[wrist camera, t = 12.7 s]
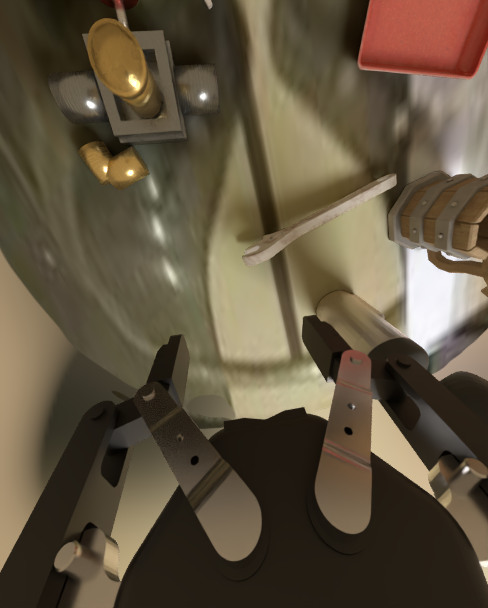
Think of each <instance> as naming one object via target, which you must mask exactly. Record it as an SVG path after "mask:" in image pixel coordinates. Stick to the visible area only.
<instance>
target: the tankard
mask: <svg viewBox="0 0 488 608" xmlns="http://www.w3.org/2000/svg"><path fill="white" fill-rule="evenodd" d="M388 225H389V240H391V241H393V242H395V243H398V244H400V245H402V246H404V247H406V248H409V249H414V248H417V247H419V246H421V248H422V249H427V253H428V260H429V261H430V262H431V263H433V264H434V265H435V266H436V267H437V268H439V269H441V270H444V271H447V272H449V273H467V274H472V275H476V276H480V277H483V278H484V280H485V282H486V284H487V287H485V288H484V289H482V290H481V292H482V293H483V294H485V295H486V296H487V297H488V174H487V175H485V176H483V177H481V178H476V177H475V176H473V175H472V174H459V175H455V176H453V177H450V176H449V175H447V174H446V173H444V172H443V171H436V172H433V173H431V174H429V175H427V176H425V177H423V178H421V179H419V180H417V181H414V182H412V183H410V184H408V185H406V187H405V188H404V190H403V191H402V193H401V195H400V196H399V198H398V199H397V201H396V203H395V204H394V206H393V207H392V209H391V211H390V212H389V214H388ZM441 251H443V252H445V253H446V254H447V255H448V256H450V255H451V256H454V257H457V258H461V259H468V258H470V257H474V258H478V259H482V260H483V262H482V263H481V262H475V261H452V260H449V259H446V258H445V257H444V256H442V254H441Z"/></svg>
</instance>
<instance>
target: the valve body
mask: <svg viewBox="0 0 488 608" xmlns="http://www.w3.org/2000/svg"><path fill="white" fill-rule="evenodd" d="M100 1H101V2H102V3H104V4H106V5H107V6H109V7H112V8H115V11H116V15H117V19H118V21H119V22H120V23H122V24H123V25H125V26H126V27H127V28H128V29H129V30H130V28H129V24H128V20H127V16H126V12H125V10H127V9H131V8H133V7H134V6H135V5H136V4H137V3H138V0H100ZM132 33H133V35H134V36H135V38H136V39H137V41H138V43H139V45H140V47H141V49H142V51H143V53H144V55H145V58H146V61H147V66H148V68H149V70H150V72H151V73H152V75H153V77H154V79H155V81H156V83H157V85H158V87H159V89H160V93H161V98H162V103H161V108H160V111H159V112H158V114H157V115H156V116H154V117H152V118H144V117H141V116H139V115H138V114H136V113H135V112H134V111H133V110H132V109H131V108H130V107H129V106H128V105H127V104H126V103H125V102H124V101H123V100H122V99H121V98H120V97H118V96H116V95H115V94H113V93H112V92H111V91H110V90H109V89H108V88H107V87H106V86H105V85H104V84H103V83H102V82H101V81H100V79H99V78H98V77H97V75H96V73H95V72H94V70H93V71H75V72H58V73H49V74H48V84H49V87H50V90H51V93H52V95H53V97H54V99H55V101H56V103H57V105H58V107H59V108H60V110H61V111H62V113H63V114H64V115H65V117H66V118H67V119H68V120H69V121H70V122H72V123H73V124H80V123H94V122H107V121H110V124H111V127H112V130H113V133H114V136H116V137H118V138H119V140H120V143H122V144H123V145H125V146H130V145H142V144H155V143H167V142H179V141H188V137H187V132H186V126H185V120H184V116H189V115H202V114H216V113H220V108H219V94H218V84H217V75H216V68H215V64H199V65H181V66H175V64H174V58H173V53H172V49H171V45H170V42H169V41H166V39H165V36H164V33H163V30H159V31H136V32H132ZM82 36H83V39H84V42H85V45H86V48H87V39H88V34H82ZM87 51H88V50H87Z"/></svg>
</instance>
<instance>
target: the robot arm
mask: <svg viewBox="0 0 488 608" xmlns="http://www.w3.org/2000/svg"><path fill="white" fill-rule="evenodd" d="M316 314H317V316H316V315H311V316H304V317H303V327H302V339H303V343H304V345H305V346H306V348H307V350H308V351H309V353H310V355H311V356H312V358H313V360H314V361H315V363H316V365H317V366H318V368H319V370H320V372H321V373H322V375H323V377H324V378H325V380H326V382H333V381H334V382H335V384H336V386H335V391H334V396H333V400H332V405H331V410H330V415H329V419H328V421H327V420H326V419H324V418H321V417H319V416H316V415H312V414H307V413H306V411H305V409H304V407H302V408H296V409H291V410H285V411H283V412H281V413H279V414H276V415H274V416H272V417H270V418H268V419H251V418H241V419H235V420H230V421H224V429H222V430H220V431H219V432H217V433H216V434H214V435H213V436H212V437H211V438H210V439H209V440H208V439H207V438H206V437H205V435H204V434H203V433H202V432H201V430H200V429H199V428H198V427H197V425H196V424H195V423H194V421H193V420H192V419H191V418H190V416H189V415H188V414H187V413H186V411H185V410H184V409H183V408H182V407H183V402H184V395H185V388H186V381H187V375H188V368H189V360H190V358H189V351H188V348H187V345H186V341H185V338H184V335H183V334H180V335H173V336H170V339H169V342H168V344H166V345H163V346H162V347H161V348H160V349H159V350H158V352H157V355H156V357H155V358H156V359H155V360H154V364H153V366H152V369H151V371H150V374H149V377H148V380H147V383H146V384H145V385H143V386H142V387H140V388H139V389H138V390H137V392H136V393H135V395H134V397H133V398H131V399H129V400H127V401H124V402H122V403H120V404H117V405H115V404H114V403H113V402H112V401H103V402H100V403H98V404H96V405H94V406H93V407H91V408H90V409H89V410H88V411H87V412H86V413H85V414H84V415H83V417H82V419H81V421H80V423H79V424H78V426H77V428H76V430H75V432H74V434H73V436H72V438H71V440H70V442H69V443H68V445H67V447H66V449H65V451H64V453H63V455H62V457H61V458H60V460H59V462H58V464H57V466H56V468H55V470H54V472H53V474H52V476H51V477H50V480H49V481H48V483H47V485H46V487H45V489H44V491H43V493H42V495H41V496H40V498H39V500H38V502H37V504H36V506H35V508H34V510H33V511H32V513H31V515H30V517H29V519H28V521H27V523H26V525H25V527H24V529H23V530H22V533H21V534H20V536H19V538H18V540H17V542H16V544H15V545H14V547H13V549H12V552H11V553H10V555H9V557H8V559H7V561H6V563H5V564H4V566H3V568H2V570H1V572H0V608H488V584H487V581H486V579H485V576H484V573H483V570H482V567H487V566H488V381H487V380H485V379H483V378H481V377H479V376H477V375H474V374H472V373H468V372H463V371H460V372H455V373H453V374H451V375H449V376H447V377H446V378H444V379H443V380H441V381H438V380H437V379H436V378H435V377H434V376H433V375H432V374H430V373H429V372H428V371H427V368H428V364H429V357H428V354H427V353H426V351H425V350H424V349H423V348H422V347H421V346H419V345H418V344H417V343H415V342H414V341H412V340H411V339H410V338H408V337H407V336H406V335H404V334H403V333H402V332H400V331H399V330H398V329H396V328H395V327H394V326H392V325H391V324H390V323H388V322H387V321H385V320H384V315H383V314H382V313H380V312H379V311H378V310H376V309H375V308H373V307H372V306H371V305H369V304H368V303H366V302H365V301H364V300H362V299H361V298H360V297H358V296H357V295H355V294H349V293H348V292H346V291H334V292H331V293H329V294H328V295H326V296H325V297H324V298H323V299H322V300H321V301H320V302H319V304H318V306H317V310H316ZM372 399H377V400H379V402H380V403H381V405H382V406H383V407H384V409H385V410H386V412H387V413H388V414H389V416H390V417H391V419H392V420H393V421H394V423H395V424H396V426H397V427H398V428H399V430H400V431H401V433H402V434H403V435H404V437H405V438H406V439H407V441H408V442H409V444H410V445H411V446H412V448H413V449H414V451H415V452H416V453H417V455H418V456H419V458H420V459H421V460H422V462H423V463H424V465H425V466H426V467H427V469H428V470H429V474H428V480H429V484H430V486H431V488H432V490H433V492H434V496H435V498H436V499H435V498H434V497H433V496H432V495H430V494H429V493H428V492H427V491H425V490H424V489H422V488H421V487H420V486H418V485H417V484H415V483H414V482H413V481H411V480H410V479H408V478H407V477H406V476H404V475H403V474H402V473H400V472H399V471H397V470H396V469H395V468H393V467H392V466H390V465H389V464H388V463H386V462H385V461H383V460H382V459H380V458H379V457H378V456H376V455H375V454H374V453H372V452H371V425H372V423H371V422H372ZM150 436H153V438H154V440H155V441H156V443H157V445H158V447H159V449H160V450H161V452H162V454H163V456H164V458H165V460H166V461H167V463H168V465H169V467H170V468H171V470H172V472H173V474H174V475H175V477H176V479H177V481H178V483H179V485H178V487H177V489H176V490H175V492H174V494H173V495H172V497H171V498H170V500H169V502H168V503H167V505H166V506H165V508H164V509H163V511H162V512H161V514H160V516H159V517H158V519H157V520H156V522H155V524H154V525H153V527H152V528H151V530H150V532H149V533H148V535H147V536H146V538H145V540H144V541H143V543H142V544H141V546H140V548H139V549H138V551H137V552H136V554H135V555H134V557H133V559H132V561H131V562H130V564H129V566H128V568H127V570H126V572H125V574H124V576H123V579H122V581H121V582H120V579H119V576H118V560H119V546H118V544H117V542H116V541H115V540H114V539H113V538H112V537H110V536H111V532H112V529H113V524H114V521H115V517H116V513H117V509H118V506H119V502H120V498H121V494H122V490H123V487H124V483H125V479H126V475H127V471H128V468H129V463H130V460H131V456H132V452H133V449H134V445H135V444H136V443H138V442H140V441H142V440H144V439H146V438H148V437H150Z"/></svg>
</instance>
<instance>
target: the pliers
mask: <svg viewBox="0 0 488 608" xmlns="http://www.w3.org/2000/svg"><path fill="white" fill-rule="evenodd" d="M204 1H205V3H206V5H207V7H208V9H210V8H211V7H212V2H211V0H204Z"/></svg>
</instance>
